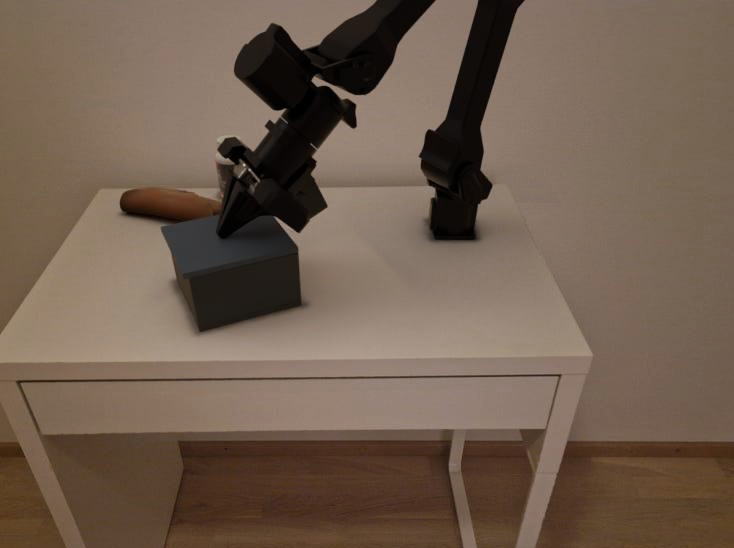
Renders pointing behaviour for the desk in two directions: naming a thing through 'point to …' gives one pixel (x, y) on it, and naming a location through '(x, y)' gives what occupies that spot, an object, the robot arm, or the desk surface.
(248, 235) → the cover
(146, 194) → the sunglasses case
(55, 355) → the desk surface
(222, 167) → the pill bottle
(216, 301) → the desk case
